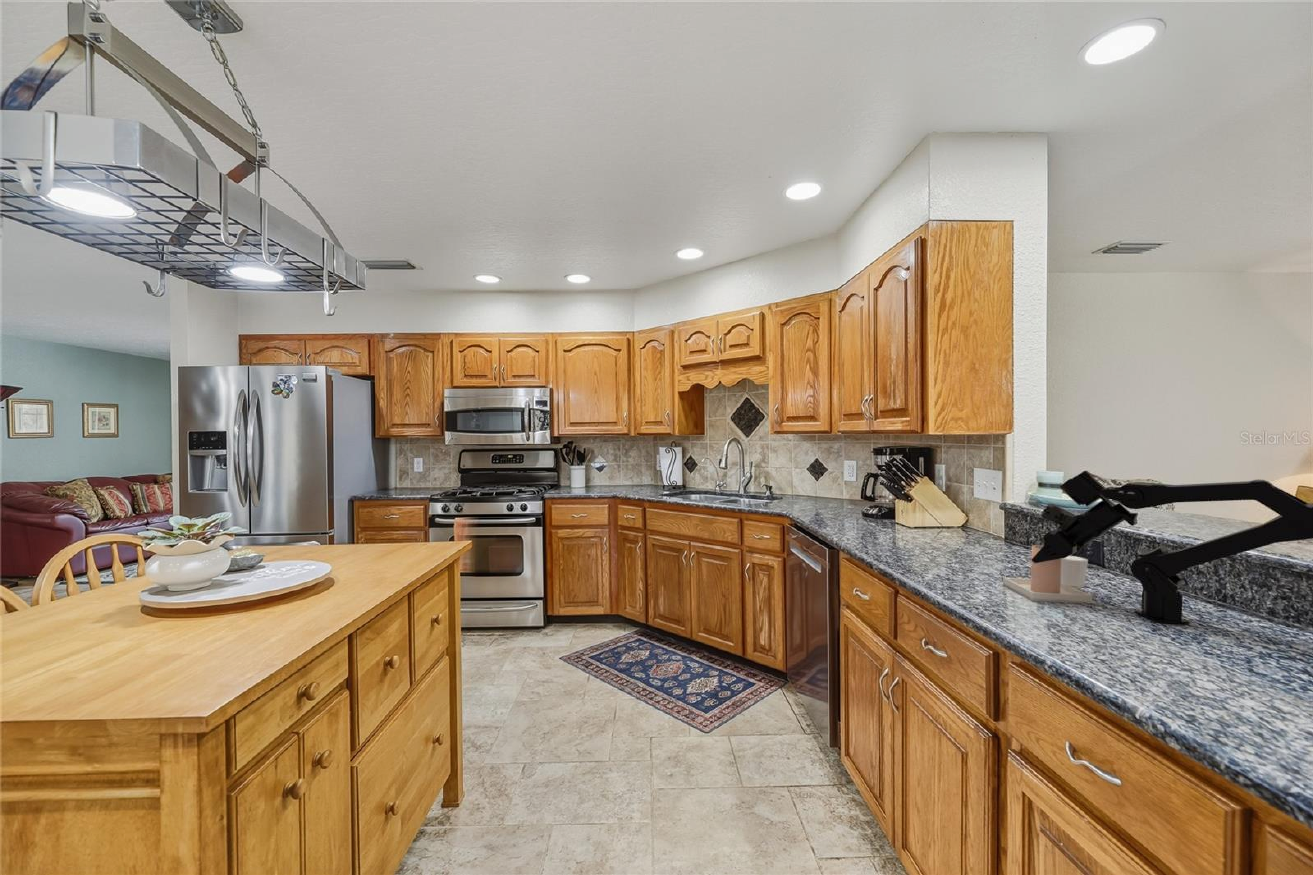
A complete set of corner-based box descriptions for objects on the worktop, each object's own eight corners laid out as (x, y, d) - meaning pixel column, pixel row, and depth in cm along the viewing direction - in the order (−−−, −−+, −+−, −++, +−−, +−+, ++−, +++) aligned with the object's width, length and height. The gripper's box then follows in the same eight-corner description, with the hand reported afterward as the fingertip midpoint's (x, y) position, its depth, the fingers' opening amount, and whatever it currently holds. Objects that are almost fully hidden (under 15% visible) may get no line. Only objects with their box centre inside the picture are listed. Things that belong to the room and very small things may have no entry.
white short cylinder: (1075, 580, 145) (1076, 555, 145) (1094, 588, 138) (1094, 561, 138) (1049, 579, 146) (1049, 554, 146) (1065, 587, 139) (1066, 560, 139)
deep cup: (1061, 597, 128) (1062, 551, 128) (1030, 592, 132) (1032, 547, 131) (1059, 591, 133) (1060, 547, 133) (1030, 586, 136) (1031, 543, 136)
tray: (1091, 603, 125) (1091, 595, 125) (1032, 601, 127) (1033, 593, 127) (1055, 587, 138) (1056, 579, 138) (1002, 585, 140) (1003, 577, 139)
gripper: (1077, 492, 135) (1025, 528, 144) (1055, 497, 123) (1000, 536, 132) (1117, 527, 129) (1060, 563, 138) (1098, 536, 117) (1037, 575, 126)
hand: (1039, 558), depth 133 cm, fingers open, 9 cm apart
